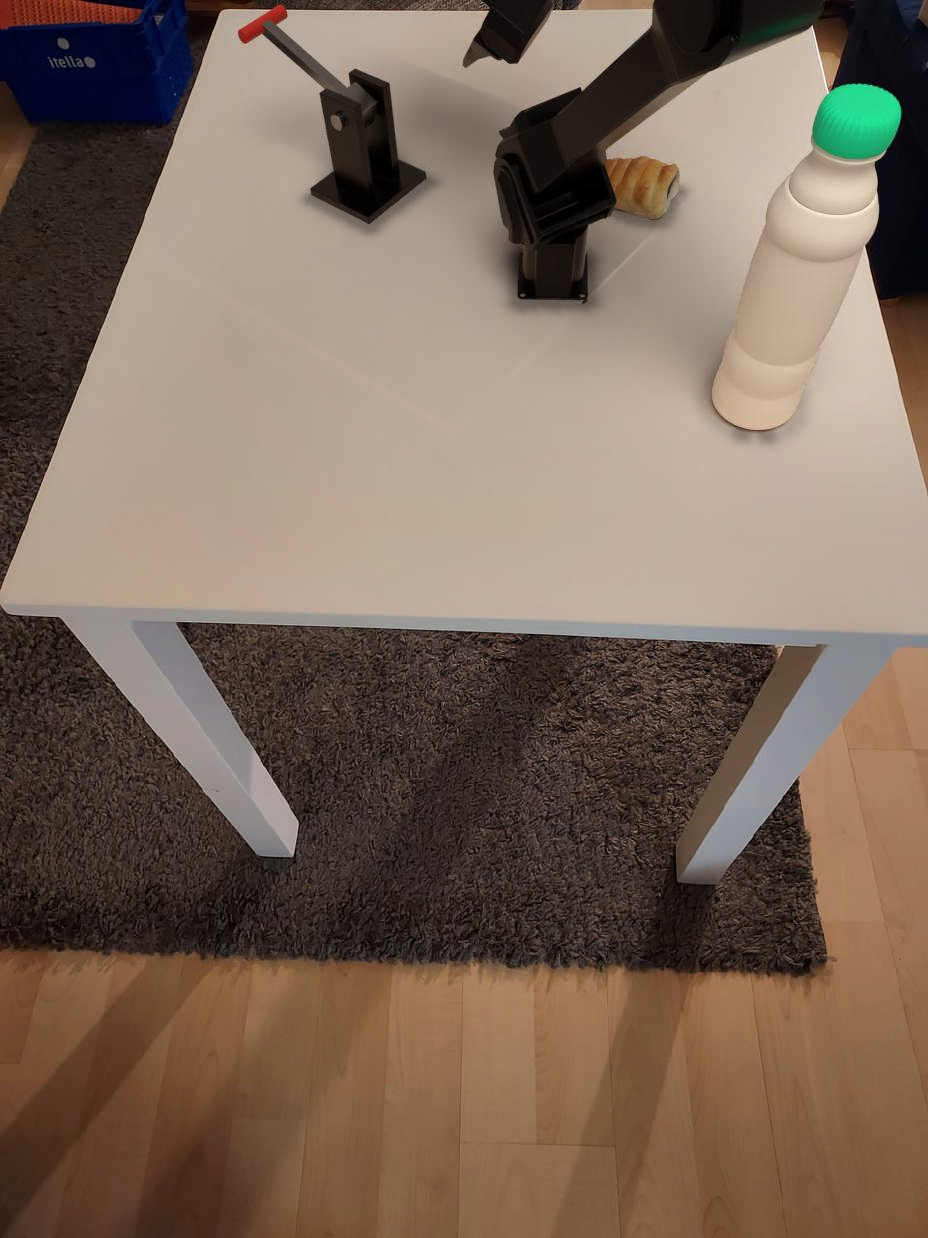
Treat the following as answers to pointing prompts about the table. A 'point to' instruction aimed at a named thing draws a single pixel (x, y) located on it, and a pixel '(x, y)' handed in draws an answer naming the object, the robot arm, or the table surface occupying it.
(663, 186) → the pastry
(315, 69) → the lever
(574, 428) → the table surface
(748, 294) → the water bottle
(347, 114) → the switch bracket
